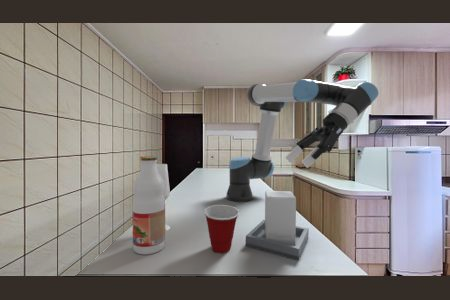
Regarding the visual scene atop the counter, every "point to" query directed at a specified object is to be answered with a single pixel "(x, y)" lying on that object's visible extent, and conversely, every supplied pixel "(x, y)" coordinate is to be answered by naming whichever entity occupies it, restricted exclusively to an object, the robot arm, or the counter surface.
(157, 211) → the fruit juice
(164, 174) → the champagne flute
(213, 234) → the plastic cup
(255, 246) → the tray
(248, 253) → the counter surface
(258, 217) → the counter surface
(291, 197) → the supplement box
